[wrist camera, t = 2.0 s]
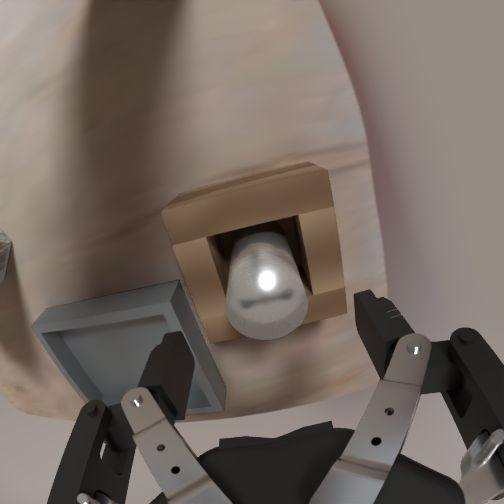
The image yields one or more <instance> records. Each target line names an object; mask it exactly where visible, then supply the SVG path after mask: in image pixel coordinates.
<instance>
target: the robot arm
mask: <svg viewBox="0 0 504 504" xmlns="http://www.w3.org/2000/svg"><path fill="white" fill-rule="evenodd" d="M354 306H355V321H356V327H357V331H358V333H359V336H360V338H361V340H362V342H363V344H364V346H365V348H366V350H367V352H368V354H369V356H370V358H371V360H372V362H373V364H374V366H375V368H376V371H377V373H378V375H379V377H380V380H379V382H378V384H377V386H376V389H375V391H374V393H373V395H372V397H371V400H370V402H369V404H368V406H367V408H366V410H365V412H364V414H363V416H362V418H361V420H360V422H359V424H358V426H357V428H356V430H352V429H347V428H333V425H332V421H328V422H324V423H320V424H315V425H311V426H306V427H302V428H300V429H298V430H295V431H293V432H291V433H288V434H285V435H283V436H280V437H277V438H261V437H249V436H244V437H235V438H225V439H220V441H219V447H216V448H213V449H211V450H209V451H207V452H205V453H203V454H202V455H200V456H199V457H197V456H196V454H195V453H194V452H193V451H192V449H191V448H190V447H189V445H188V444H187V443H186V441H185V440H184V439H183V437H182V436H181V435H180V433H179V432H178V431H177V429H176V428H175V426H174V424H175V420H185V414H186V409H187V404H188V399H189V394H190V389H191V384H192V379H193V374H194V369H195V360H194V356H193V354H192V352H191V350H190V348H189V346H188V343H187V341H186V339H185V337H184V335H183V333H182V332H181V331H176V332H169V333H165V334H164V336H163V339H162V342H161V344H159V345H157V346H156V347H155V348H154V349H153V350H152V351H151V353H150V355H149V358H148V361H147V363H146V365H145V368H144V370H143V373H142V376H141V378H140V381H139V383H138V386H137V388H134V389H132V390H130V391H128V392H127V393H126V394H125V395H124V396H123V398H122V400H121V403H118V404H114V405H111V406H106V405H105V403H104V402H103V401H102V400H98V399H96V400H92V401H89V402H88V403H86V404H85V405H84V406H83V407H82V409H81V411H80V413H79V416H78V418H77V420H76V423H75V425H74V428H73V430H72V433H71V436H70V438H69V441H68V443H67V446H66V448H65V451H64V454H63V457H62V459H61V462H60V465H59V468H58V471H57V474H56V477H55V479H54V483H53V486H52V489H51V492H50V495H49V498H48V502H47V504H125V500H126V495H127V489H128V484H129V478H130V473H131V468H132V463H133V459H134V454H135V449H136V446H137V447H138V449H139V451H140V453H141V455H142V457H143V458H144V460H145V462H146V464H147V466H148V467H149V469H150V471H151V473H152V474H153V476H154V478H155V479H156V481H157V483H158V484H159V486H160V488H161V489H162V491H163V492H162V493H160V494H159V495H158V496H157V497H156V498H155V499H154V500H153V501H152V502H151V503H150V504H484V503H486V502H488V501H489V500H499V499H502V498H503V497H504V365H503V363H502V362H501V361H500V359H499V358H498V357H497V355H496V354H495V353H494V351H493V350H492V349H491V347H490V346H489V345H488V344H487V342H486V341H485V340H484V339H483V337H482V336H481V335H480V334H479V333H478V332H477V331H476V330H474V329H471V328H459V329H457V330H455V331H454V332H453V333H452V335H451V337H450V340H446V341H439V342H430V340H429V339H428V338H427V337H425V336H424V335H421V334H416V333H415V332H414V331H413V330H412V328H411V327H410V325H409V324H408V323H407V321H406V320H405V319H404V317H403V316H402V315H401V313H400V312H399V311H398V310H397V308H396V307H395V305H394V304H393V303H392V302H391V301H390V300H388V299H386V298H384V297H381V298H376V297H375V295H374V294H373V292H372V291H371V290H370V289H369V290H366V291H362V292H358V293H355V294H354ZM436 392H441V394H442V396H443V398H444V400H445V402H446V404H447V406H448V408H449V410H450V412H451V415H452V416H453V419H454V421H455V423H456V425H457V427H458V430H459V432H460V434H461V436H462V438H463V441H464V443H465V445H466V448H467V452H466V453H465V455H464V456H463V458H462V460H461V473H462V476H461V480H460V483H459V484H458V483H457V482H456V481H454V480H453V479H451V478H450V477H448V476H446V475H443V474H441V473H439V472H437V471H435V470H433V469H430V468H428V467H426V466H424V465H422V464H420V463H418V462H416V461H414V460H412V459H410V458H408V457H406V456H404V455H402V454H401V451H402V449H403V446H404V444H405V441H406V438H407V435H408V433H409V430H410V427H411V424H412V421H413V418H414V415H415V412H416V409H417V406H418V403H419V400H420V396H421V394H428V393H436ZM103 442H104V443H105V444H106V446H105V449H104V453H103V456H102V460H101V458H100V451H101V448H102V444H103Z"/></svg>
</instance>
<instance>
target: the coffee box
mask: <svg viewBox="0 0 504 504" xmlns="http://www.w3.org/2000/svg"><path fill="white" fill-rule="evenodd" d="M11 244H12V241H11V240H10V239H9V238H8V237H7V236H6V235H5V234H4V233H3V232H2V231H1V230H0V283H1V282H2V281H3V280H4V279H5V273H6V268H7V263H8V258H9V253H10V248H11Z"/></svg>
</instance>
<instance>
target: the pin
mask: <svg viewBox="0 0 504 504" xmlns="http://www.w3.org/2000/svg"><path fill="white" fill-rule="evenodd" d="M225 308H226V314H227V317H228V320H229V321H230V323H231V325H232V326H233V327H234V328H235V329H236V330H237V331H239V332H240V333H241V334H243V335H245V336H247V337H250V338H254V339H259V340H271V339H277V338H280V337H283V336H285V335H287V334H289V333H291V332H292V331H294V330H295V329H296V328H297V327H298V326H299V325H300V324H301V323H302V321H303V320H304V318H305V316H306V313H307V309H308V299H307V295H306V292H305V289H304V286H303V283H302V280H301V277H300V275H299V272H298V269H297V266H296V263H295V260H294V258H293V255H292V252H291V249H290V246H289V244H288V241H287V238H286V235H285V233H284V231H283V229H282V227H281V226H280V225H279V224H278V223H277V222H276V221H269V222H265V223H261V224H257V225H253V226H248V227H244V228H240V229H237V230H236V232H235V234H234V238H233V246H232V254H231V263H230V271H229V279H228V288H227V296H226V307H225Z"/></svg>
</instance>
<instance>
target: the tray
mask: <svg viewBox="0 0 504 504" xmlns="http://www.w3.org/2000/svg"><path fill="white" fill-rule="evenodd" d="M31 327H32V329H33V330H34V332H35V334H36V335H37V337H38V338H39V340H40V342H41V343H42V345H43V346H44V348H45V349H46V351H47V352H48V354H49V355H50V357H51V358H52V360H53V361H54V363H55V364H56V365H57V367H58V368H59V370H60V371H61V372H62V374H63V375H64V376H65V378H66V379H67V380H68V382H69V383H70V384H71V386H72V387H73V388H74V389H75V391H76V392H77V393H78V394H79V396H80V397H81V398H82V399H83V400H84V402H85V403H88V402H89V401H92V400H96V399H98V400H102V401H103V402H104V403H105V405H106V406H111V405H114V404H118V403H121V400H122V398H123V396H124V395H125V394H126V393H127V392H128V391H130V390H132V389H134V388H137V386H138V383H139V381H140V378H141V376H142V373H143V370H144V368H145V365H146V363H147V361H148V358H149V355H150V353H151V351H152V350H153V349H154V348H155V347H156V346H157V345H159V344H161V342H162V339H163V336H164V334H165V333H169V332H176V331H181V332H182V333H183V335H184V337H185V339H186V341H187V343H188V346H189V348H190V350H191V352H192V354H193V356H194V360H195V369H194V374H193V379H192V384H191V389H190V394H189V399H188V404H187V409H186V414H185V415H188V414H202V413H213V412H222V411H225V396H226V386H225V384H224V382H223V380H222V377H221V375H220V373H219V371H218V369H217V367H216V365H215V363H214V360H213V358H212V356H211V354H210V352H209V349H208V347H207V345H206V343H205V341H204V338H203V336H202V334H201V331H200V329H199V327H198V324H197V322H196V320H195V317H194V315H193V313H192V310H191V308H190V305H189V303H188V301H187V298H186V296H185V293H184V291H183V288H182V286H181V283H180V281H179V280H175V281H171V282H166V283H162V284H158V285H153V286H148V287H144V288H139V289H135V290H130V291H126V292H121V293H117V294H112V295H107V296H103V297H98V298H93V299H89V300H84V301H79V302H75V303H70V304H65V305H61V306H56V307H51V308H47V309H46V310H45V311H44V312H43V313H42V314H41V315H40V316H39V317H38V319H37V320H36V321H35V322H34V323H33V324H32V325H31Z"/></svg>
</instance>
